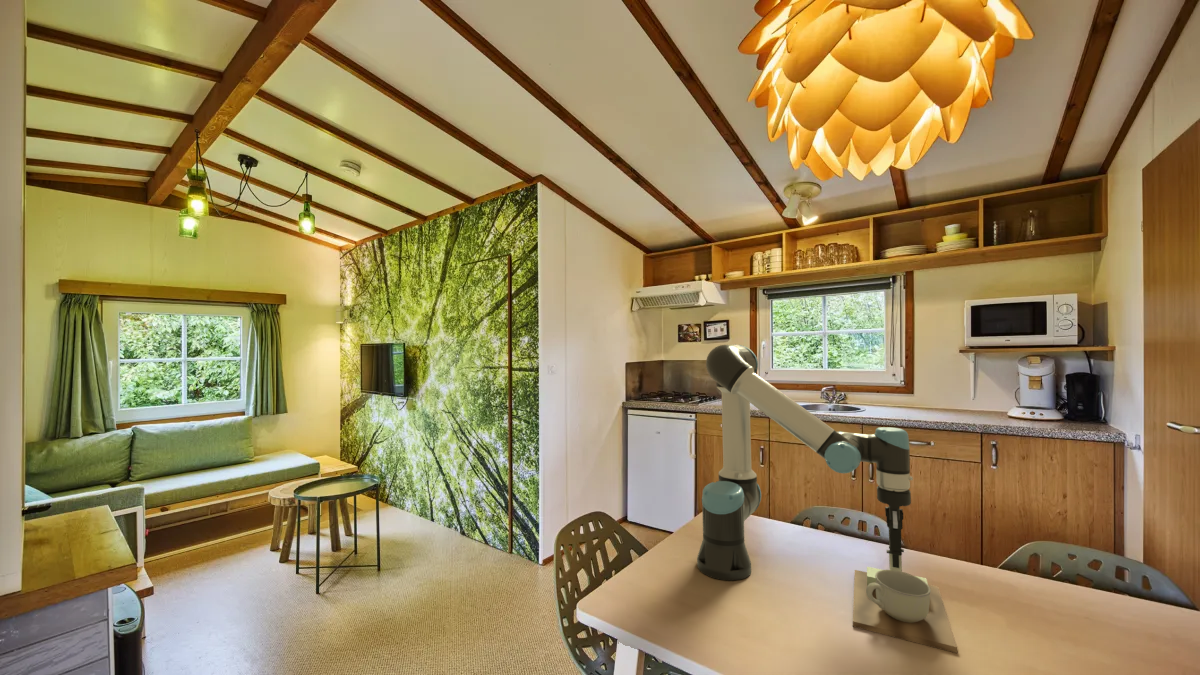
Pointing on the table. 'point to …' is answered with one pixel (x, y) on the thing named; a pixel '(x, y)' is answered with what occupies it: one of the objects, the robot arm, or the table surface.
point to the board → (924, 632)
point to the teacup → (900, 595)
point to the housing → (872, 572)
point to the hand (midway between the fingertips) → (895, 577)
